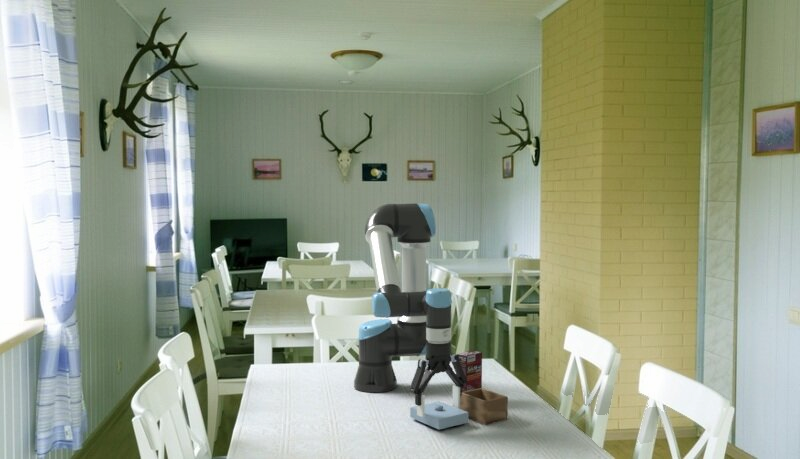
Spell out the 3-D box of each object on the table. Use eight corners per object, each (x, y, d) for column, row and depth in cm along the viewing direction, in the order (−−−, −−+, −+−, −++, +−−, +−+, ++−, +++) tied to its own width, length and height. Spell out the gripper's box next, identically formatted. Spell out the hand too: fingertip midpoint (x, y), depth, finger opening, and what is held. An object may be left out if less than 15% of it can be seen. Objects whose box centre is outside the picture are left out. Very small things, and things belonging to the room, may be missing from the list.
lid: (410, 420, 217) (410, 404, 217) (439, 413, 223) (438, 397, 223) (438, 433, 206) (438, 415, 205) (468, 425, 212) (468, 408, 212)
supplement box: (466, 404, 232) (466, 356, 231) (455, 401, 236) (455, 354, 235) (482, 399, 239) (482, 351, 238) (471, 396, 242) (471, 349, 241)
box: (459, 415, 222) (459, 392, 221) (481, 409, 227) (481, 387, 226) (485, 425, 212) (485, 401, 212) (507, 419, 217) (507, 396, 217)
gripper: (412, 348, 203) (412, 422, 204) (478, 338, 217) (478, 407, 218) (397, 344, 209) (397, 416, 210) (462, 334, 223) (462, 401, 225)
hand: (438, 411), depth 214 cm, fingers open, 13 cm apart
